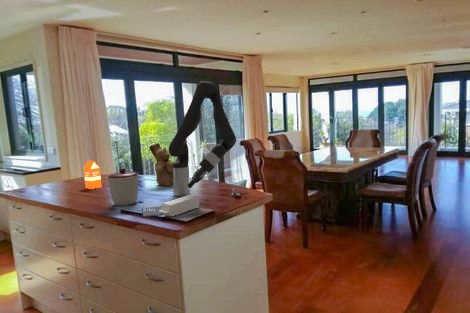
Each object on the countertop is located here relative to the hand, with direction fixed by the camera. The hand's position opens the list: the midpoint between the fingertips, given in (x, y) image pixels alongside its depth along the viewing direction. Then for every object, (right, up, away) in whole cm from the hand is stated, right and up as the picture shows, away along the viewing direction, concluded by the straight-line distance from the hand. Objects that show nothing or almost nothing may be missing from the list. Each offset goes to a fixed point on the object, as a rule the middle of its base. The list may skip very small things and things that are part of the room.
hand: (188, 187), depth 186 cm
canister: (-39, -11, +17) cm, 44 cm away
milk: (+4, -7, -1) cm, 8 cm away
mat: (-12, -12, -3) cm, 17 cm away
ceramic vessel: (-27, -4, +71) cm, 76 cm away
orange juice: (-80, -7, +74) cm, 109 cm away
